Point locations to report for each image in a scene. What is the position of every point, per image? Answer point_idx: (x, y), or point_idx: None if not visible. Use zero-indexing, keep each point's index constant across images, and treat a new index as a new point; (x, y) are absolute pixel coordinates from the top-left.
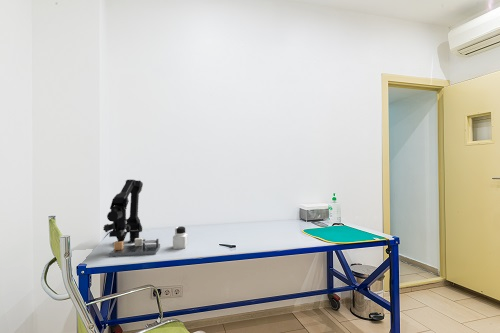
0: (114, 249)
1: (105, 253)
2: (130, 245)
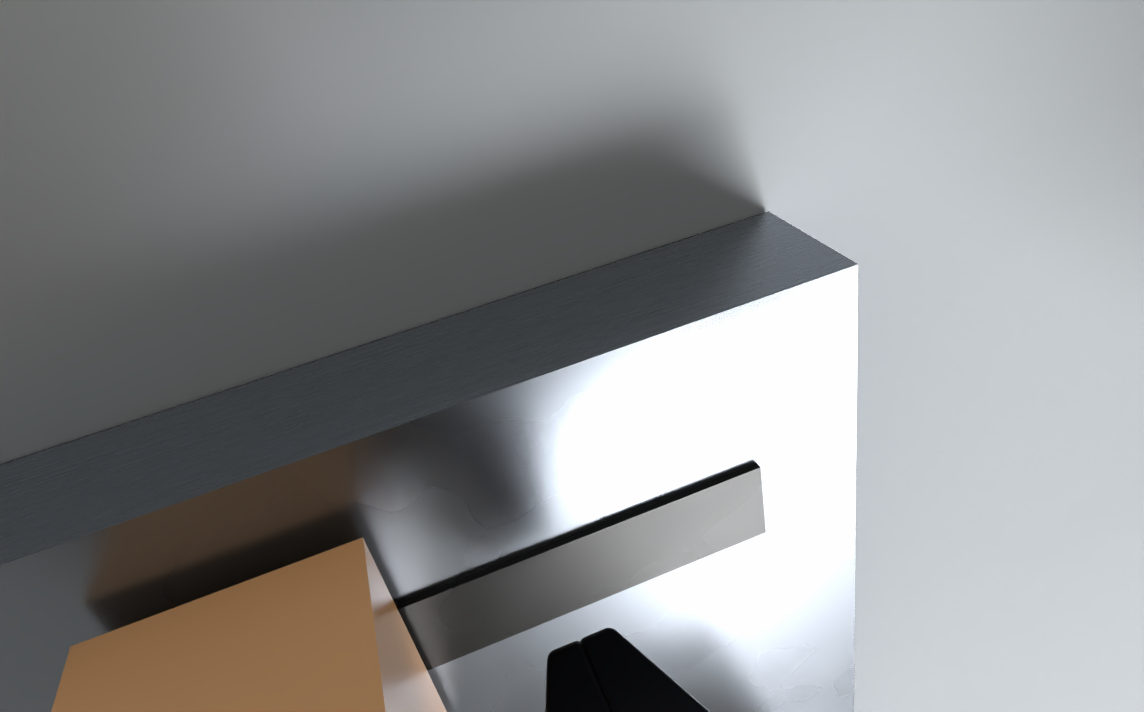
0: (74, 680)
1: (76, 8)
2: (827, 661)
